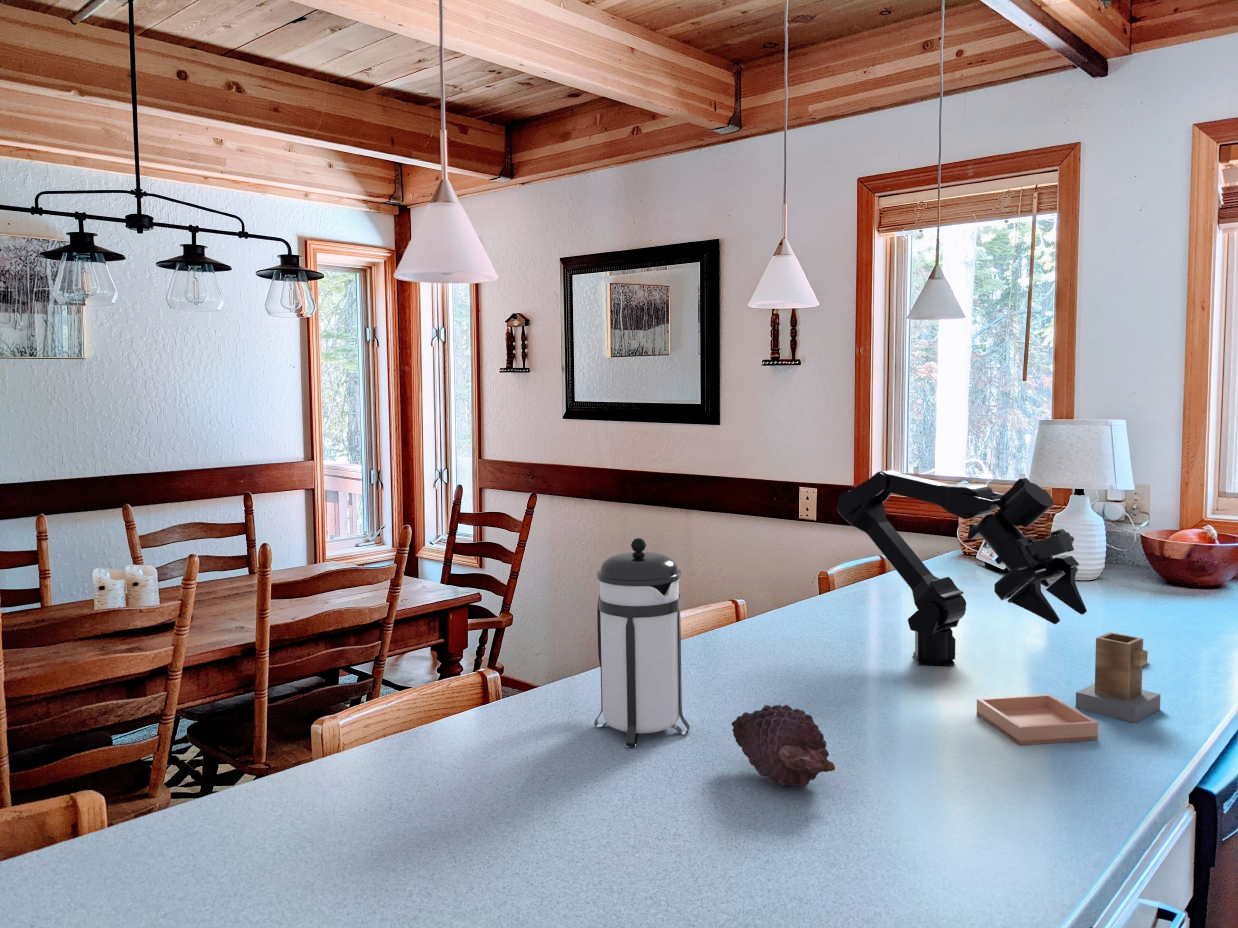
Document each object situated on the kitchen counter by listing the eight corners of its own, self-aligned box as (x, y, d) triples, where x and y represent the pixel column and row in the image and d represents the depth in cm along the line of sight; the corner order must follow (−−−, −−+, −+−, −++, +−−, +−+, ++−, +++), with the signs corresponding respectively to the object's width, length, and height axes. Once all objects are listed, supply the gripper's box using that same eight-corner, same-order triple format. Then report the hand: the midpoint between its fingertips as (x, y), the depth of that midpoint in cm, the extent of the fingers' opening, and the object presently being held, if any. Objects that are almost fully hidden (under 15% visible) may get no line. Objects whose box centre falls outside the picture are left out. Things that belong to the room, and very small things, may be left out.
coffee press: (701, 715, 143) (699, 531, 140) (675, 754, 128) (672, 548, 125) (600, 704, 149) (597, 527, 146) (564, 740, 134) (559, 544, 131)
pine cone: (710, 766, 124) (710, 696, 123) (763, 749, 129) (762, 682, 128) (804, 815, 109) (804, 736, 108) (858, 793, 115) (859, 717, 114)
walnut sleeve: (1094, 692, 143) (1096, 637, 142) (1108, 685, 146) (1110, 631, 145) (1135, 702, 138) (1137, 646, 137) (1149, 695, 141) (1151, 640, 140)
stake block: (1075, 706, 143) (1076, 667, 143) (1101, 694, 149) (1102, 656, 148) (1135, 722, 136) (1136, 681, 136) (1160, 709, 142) (1161, 668, 141)
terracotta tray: (976, 714, 141) (976, 698, 141) (1048, 709, 142) (1049, 694, 142) (1019, 744, 129) (1019, 727, 129) (1097, 739, 130) (1098, 722, 130)
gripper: (1013, 520, 145) (1080, 598, 137) (1068, 509, 156) (1133, 581, 148) (967, 561, 152) (1029, 638, 144) (1024, 547, 163) (1084, 618, 155)
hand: (1071, 617), depth 148 cm, fingers open, 9 cm apart
